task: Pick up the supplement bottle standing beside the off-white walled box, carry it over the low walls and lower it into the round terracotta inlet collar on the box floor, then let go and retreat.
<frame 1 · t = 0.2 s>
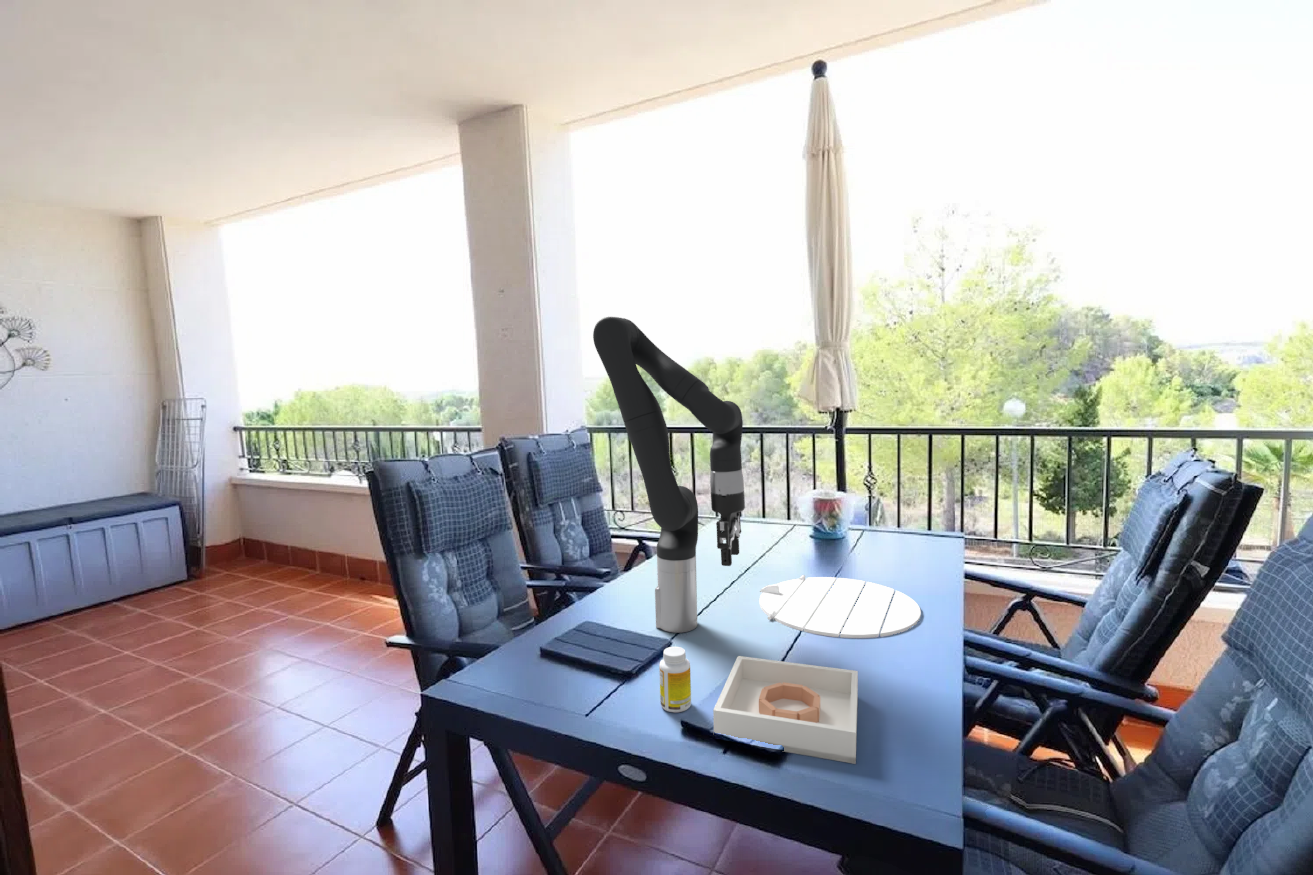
hand: (730, 559, 138), 17 cm above the table, tool pointing down, fingers open, 8 cm apart
supplement bottle: (675, 706, 109), on the table
walled box: (789, 716, 104), on the table
white round slatted board: (835, 607, 154), on the table
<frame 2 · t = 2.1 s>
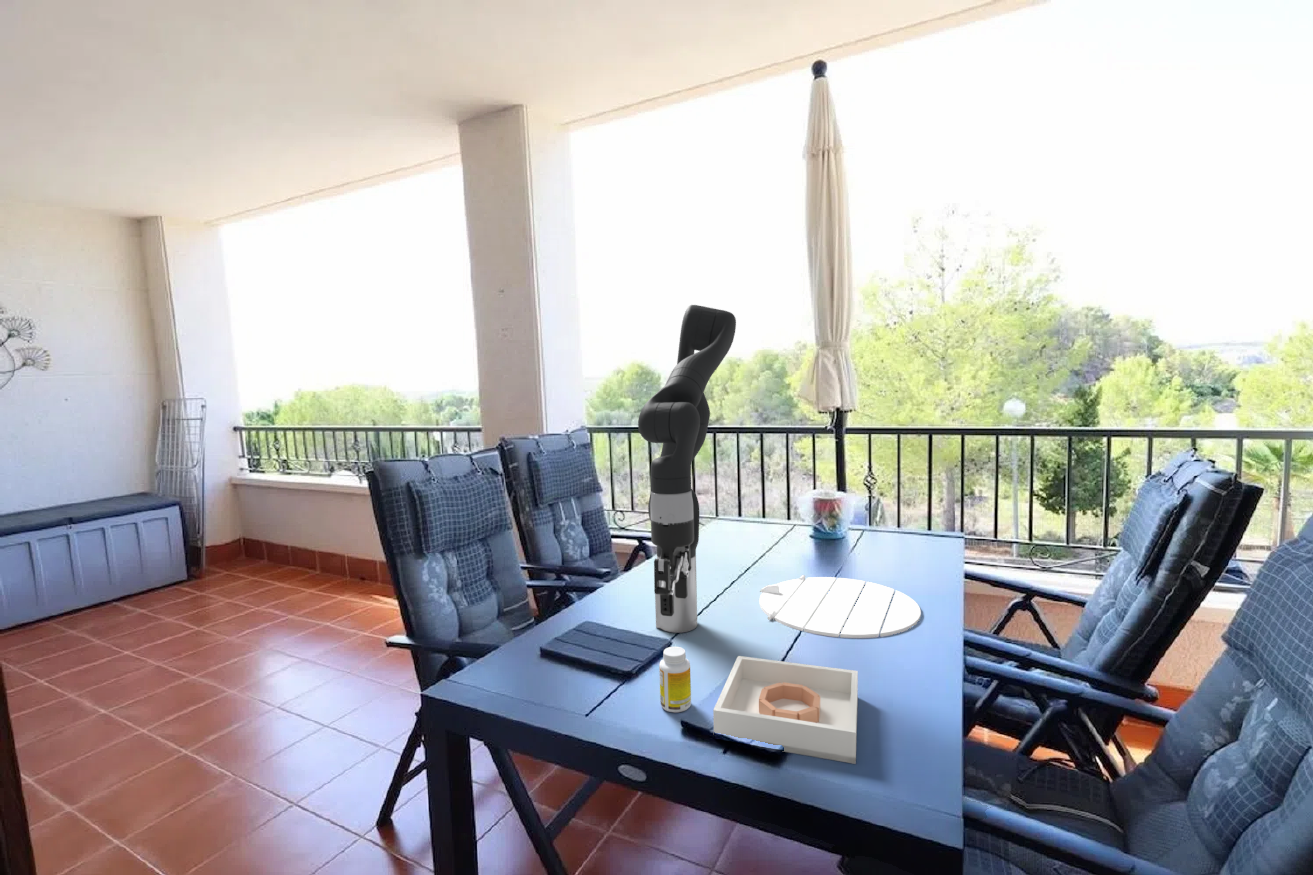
hand: (674, 606, 107), 19 cm above the table, tool pointing down, fingers open, 8 cm apart
nothing on the table moved.
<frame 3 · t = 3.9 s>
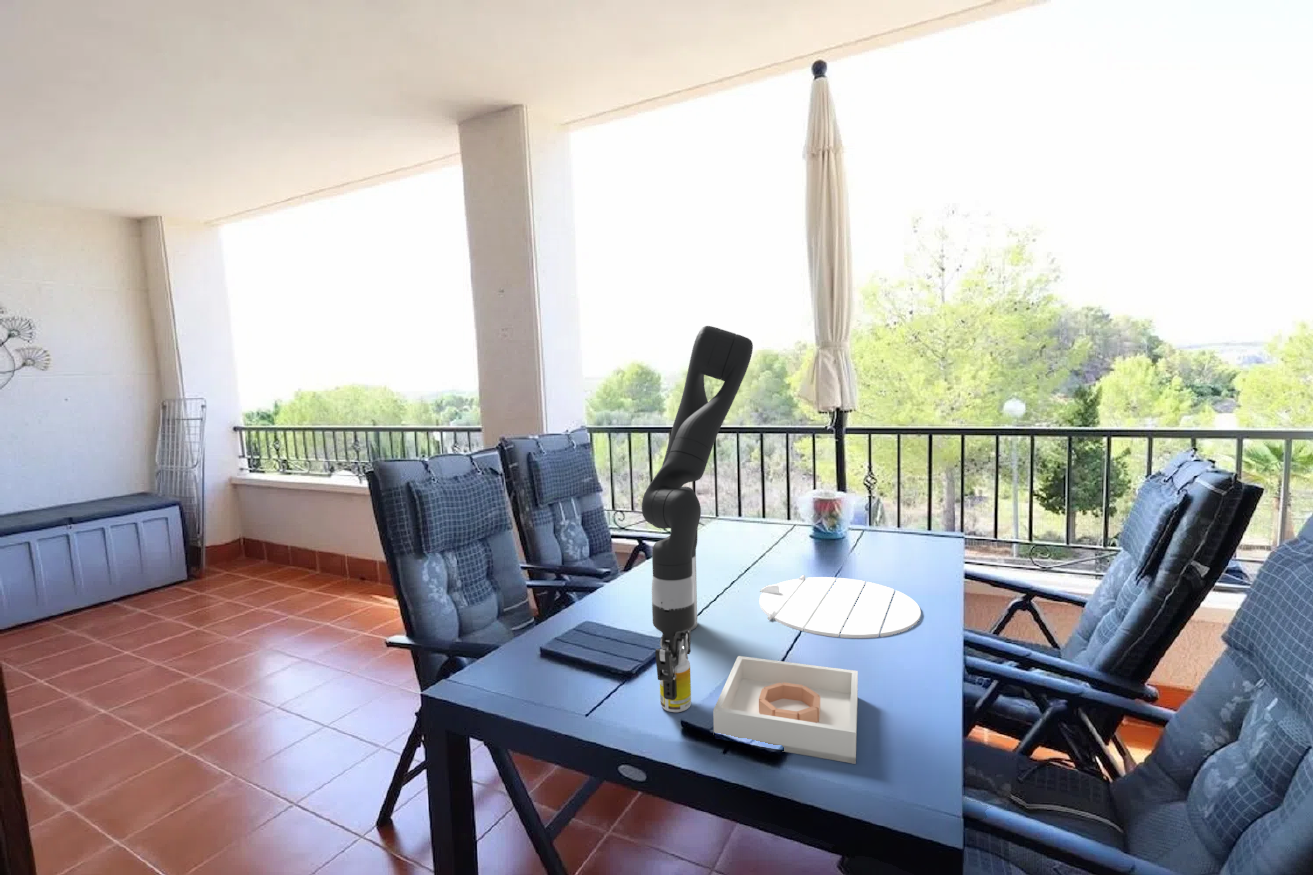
hand: (675, 689, 109), 3 cm above the table, tool pointing down, fingers closed on supplement bottle, 5 cm apart
supplement bottle: (675, 706, 109), on the table, touching gripper
everything else where it was.
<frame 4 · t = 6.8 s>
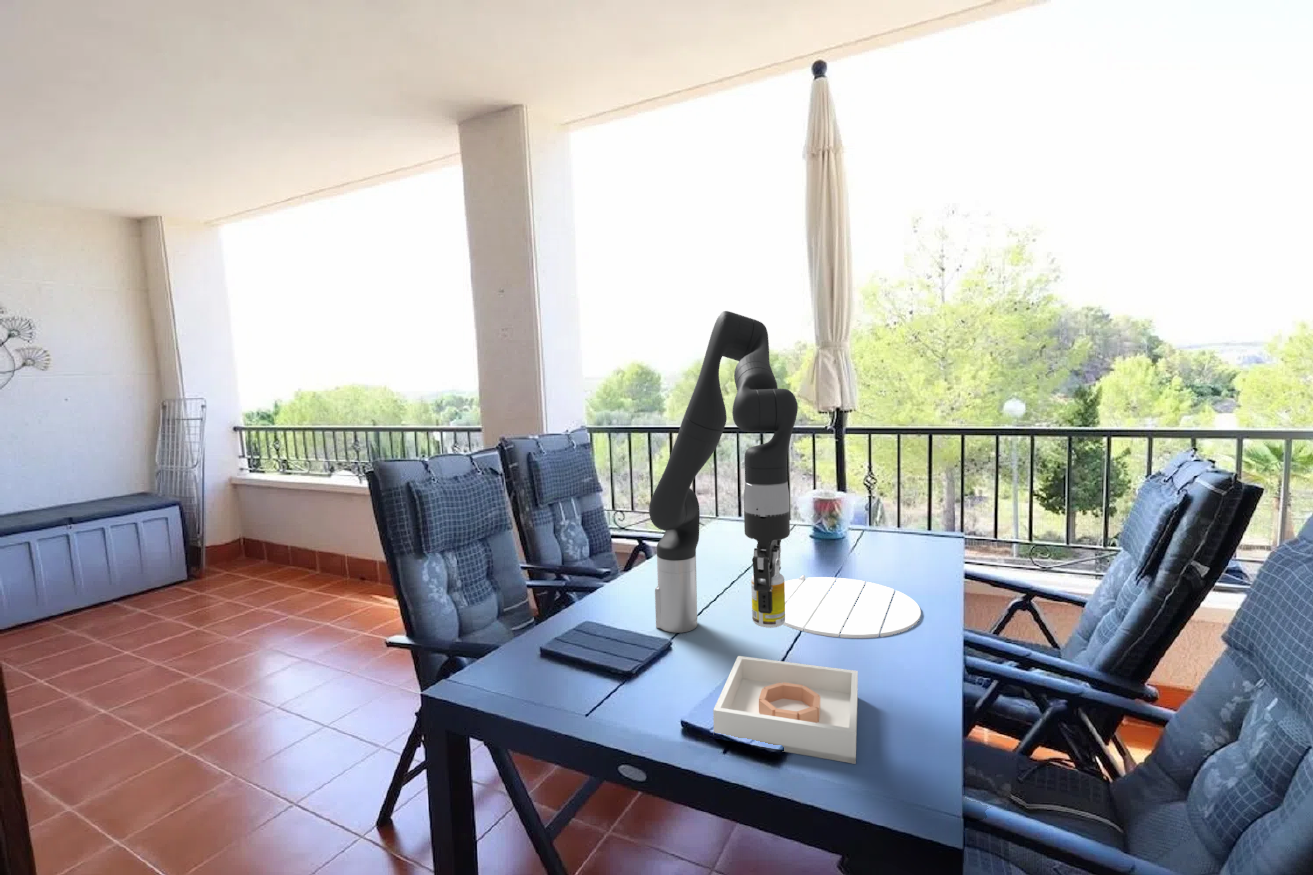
hand: (768, 605, 103), 20 cm above the table, tool pointing down, fingers closed on supplement bottle, 5 cm apart
supplement bottle: (768, 623, 103), point 17 cm above the table, touching gripper
everything else where it was.
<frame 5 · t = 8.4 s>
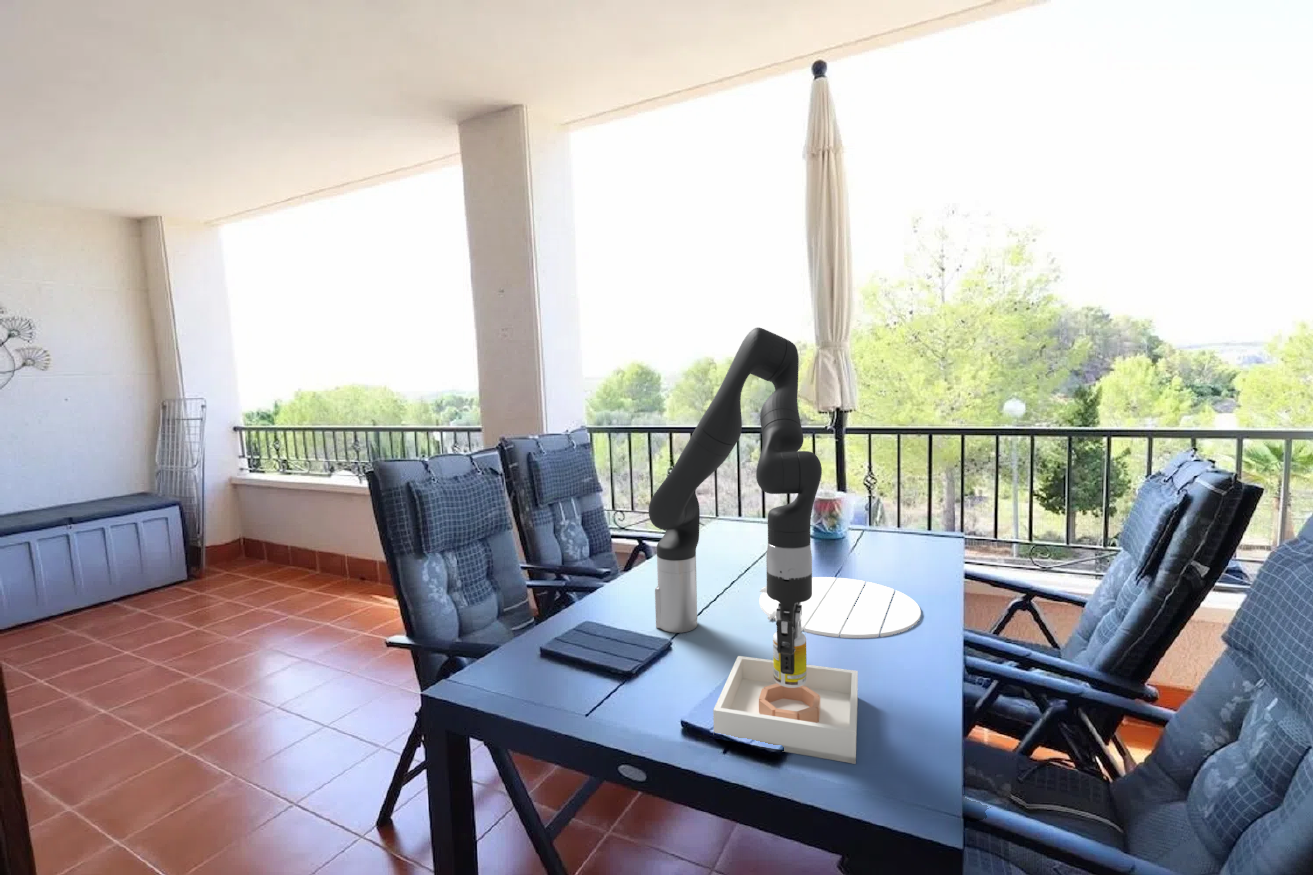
hand: (789, 664, 104), 9 cm above the table, tool pointing down, fingers closed on supplement bottle, 5 cm apart
supplement bottle: (789, 682, 104), point 6 cm above the table, touching gripper
everything else where it was.
when the fingers open (5 cm above the table, at t = 9.8 s): supplement bottle drops 1 cm, resting on walled box.
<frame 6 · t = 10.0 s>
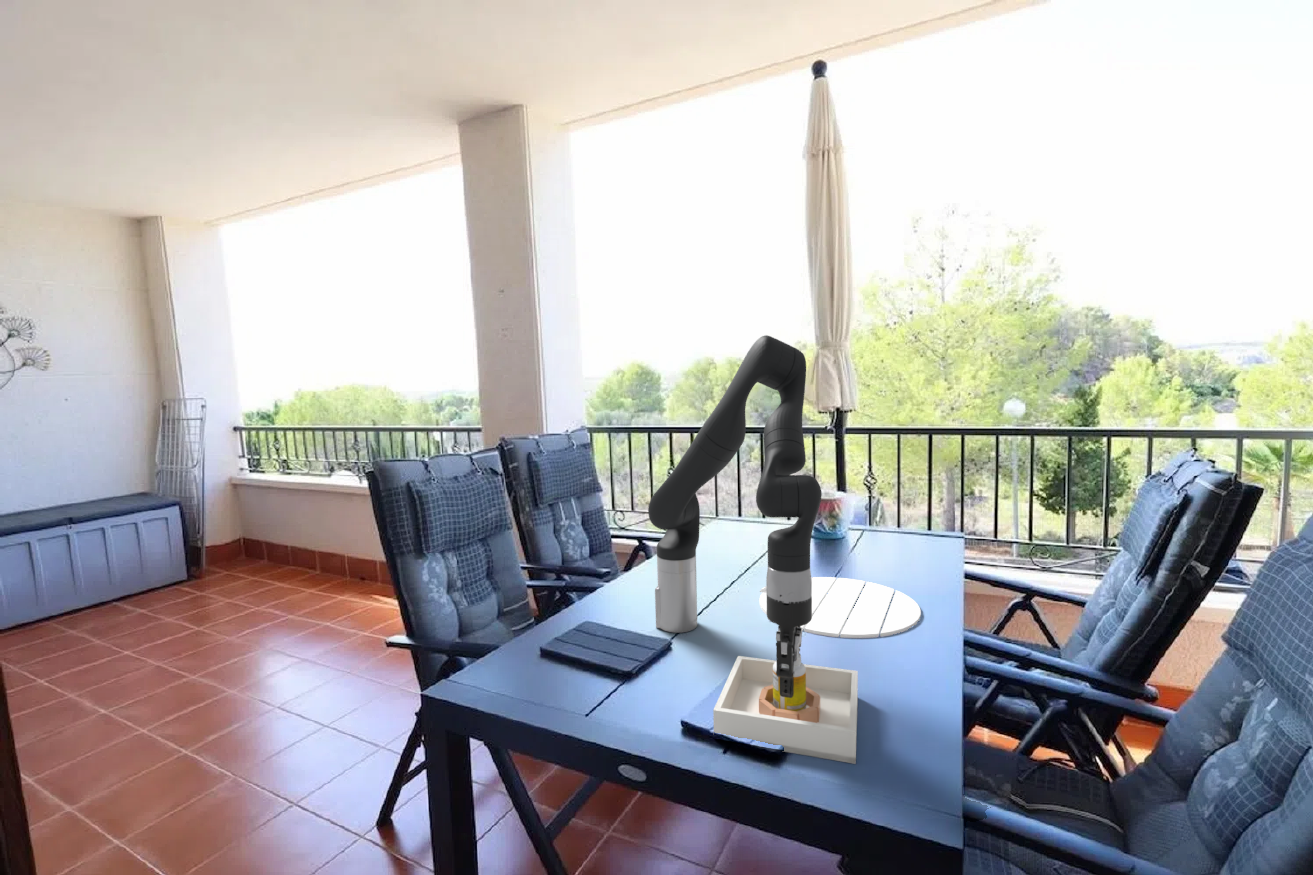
hand: (789, 684, 104), 6 cm above the table, tool pointing down, fingers open, 7 cm apart
supplement bottle: (789, 711, 104), point 1 cm above the table, touching walled box
everything else where it was.
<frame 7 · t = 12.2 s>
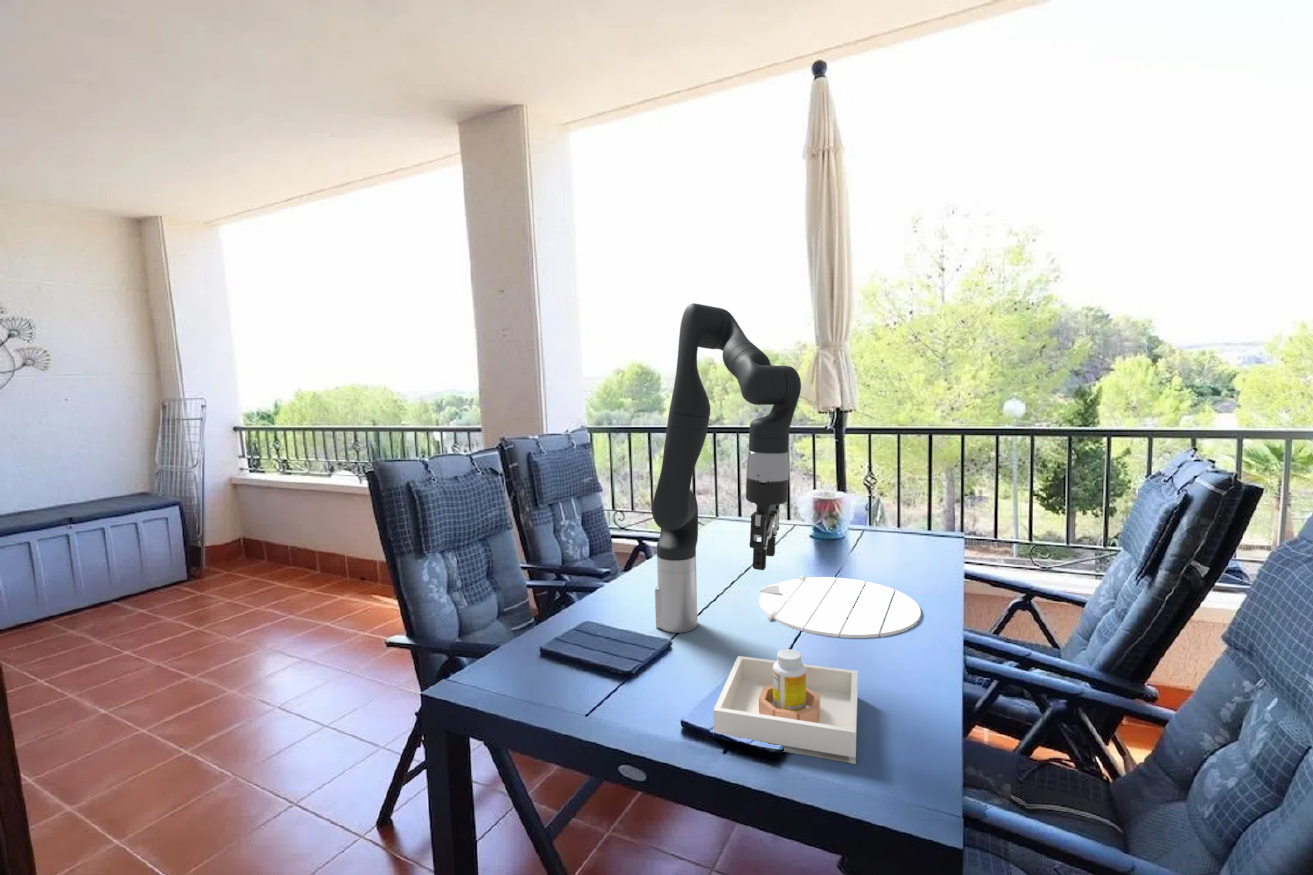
hand: (764, 562, 112), 24 cm above the table, tool pointing down, fingers open, 8 cm apart
nothing on the table moved.
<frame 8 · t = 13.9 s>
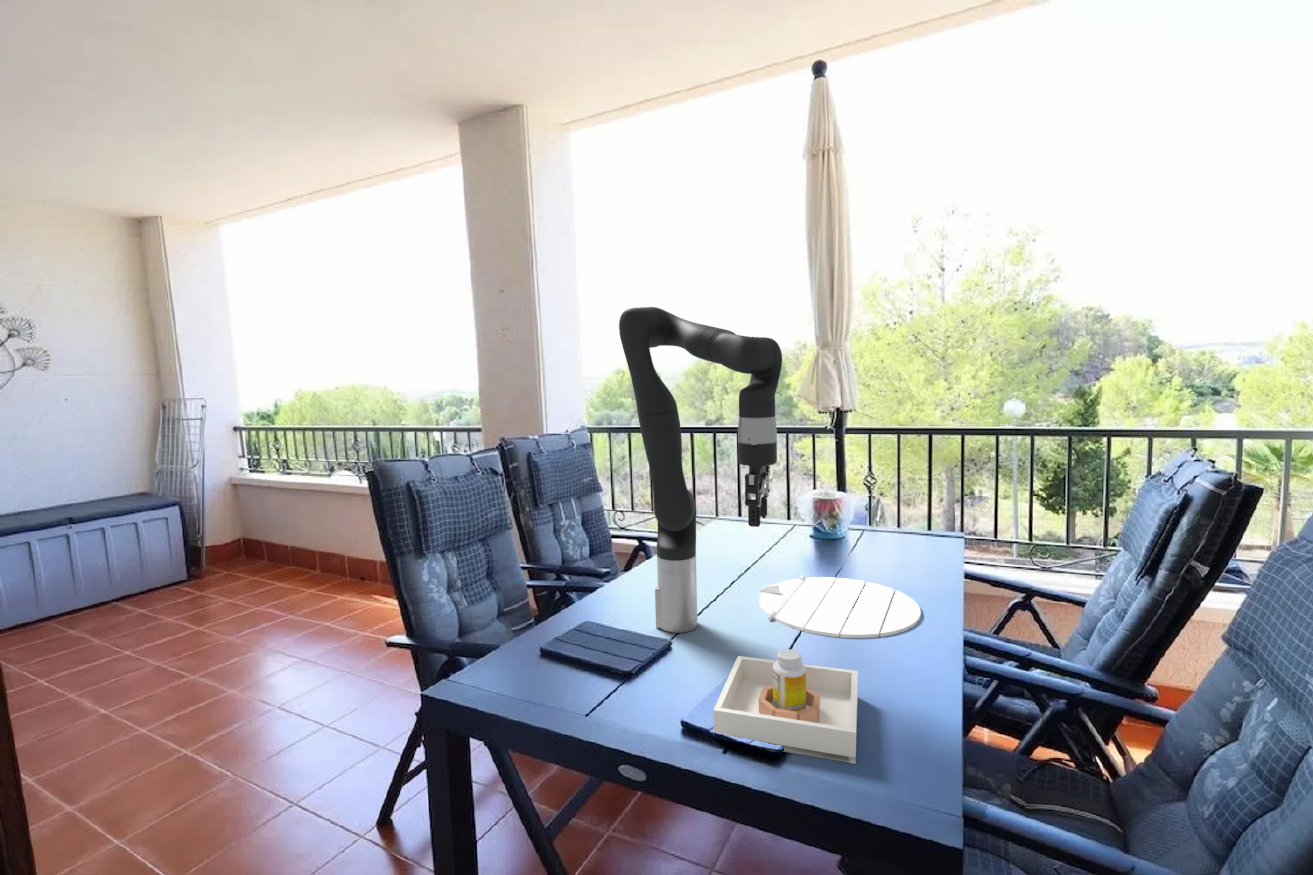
hand: (758, 520, 120), 30 cm above the table, tool pointing down, fingers open, 8 cm apart
nothing on the table moved.
at the end: supplement bottle 0.2 cm off-centre on the walled box, point 0.8 cm above the walled box's base; supplement bottle tilted 0°; the gripper is holding nothing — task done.
